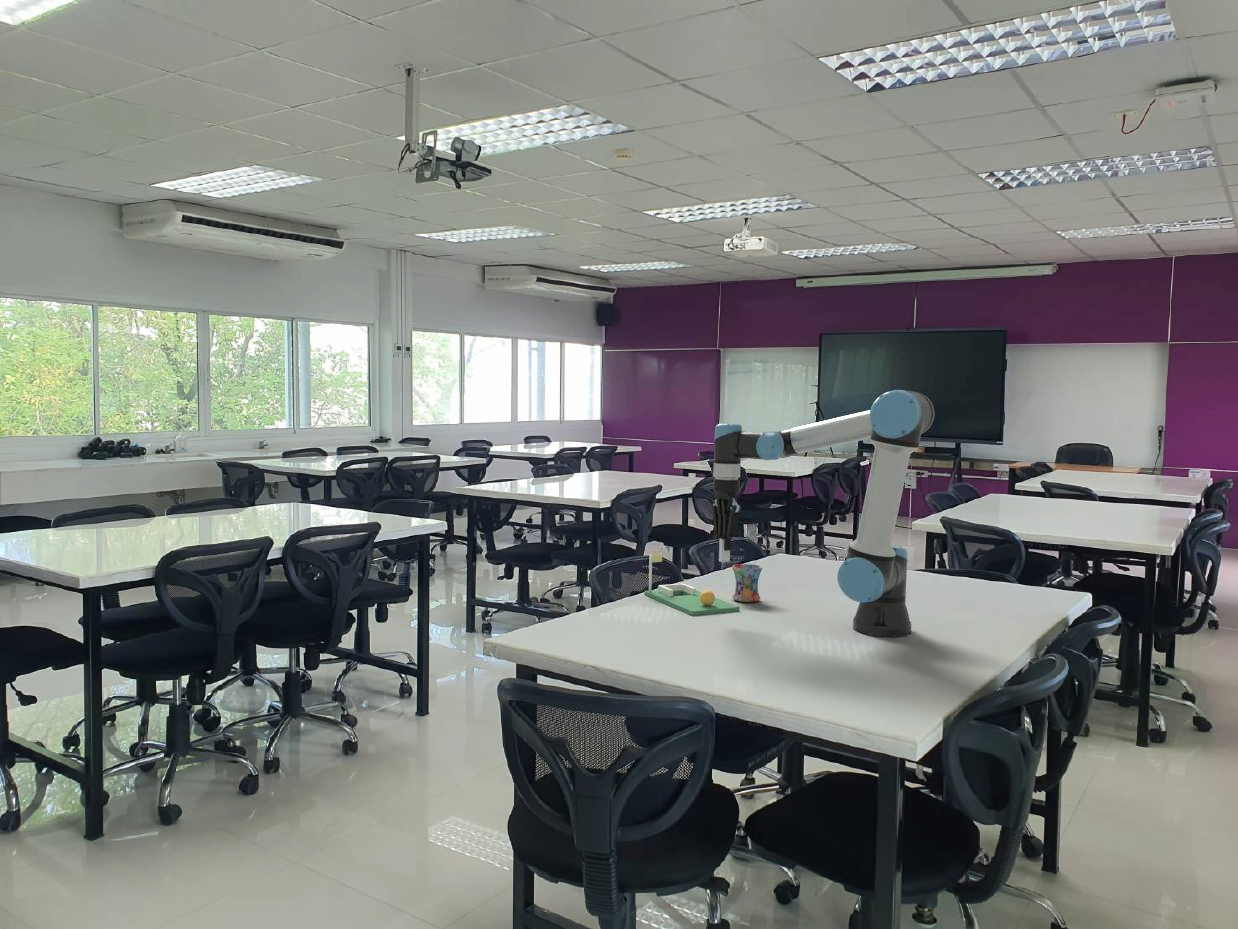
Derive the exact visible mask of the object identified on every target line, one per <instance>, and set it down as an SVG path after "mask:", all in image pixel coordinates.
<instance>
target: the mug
mask: <svg viewBox="0 0 1238 929" xmlns="http://www.w3.org/2000/svg"><path fill="white" fill-rule="evenodd" d="M731 568H732V571H733V573H734V576H735V579H734V580H735V589H734V593H733V595H732V599H733V600H735V601H737V602H741V603H754V602H758V601H759V600H761V596H760V594H759V587H758V586H759V579H760V578H759V577H760V576H761V572H762V570H763V566H761V565H758V564H753V563H752V564H750V563H740V564H739V563H738V564H733V565H731Z"/></svg>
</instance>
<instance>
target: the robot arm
mask: <svg viewBox="0 0 1238 929" xmlns="http://www.w3.org/2000/svg"><path fill="white" fill-rule="evenodd" d="M935 415H936V414H935V408H934V405H933V403H932V401H931V400H930V399H929V397H928V396H926V395H924V394H923V393H921V392H917V391H912V390H904V389H894V390H891V391H887V392H885V393H882V394H881V395H880V396H878V397H877V398H876V399H875V400H874V401H873V404H872V405H871V408H870V409H869V410H865V411H860V412H856V413H855V412H854V413H852V414H848V415H843V416H838V417H836V418H835V417H834V418H830V419H828V420H827V419H826V420H822V421H818V422H814V423H810V424H806V425H801V426H797V427H793V428H788V429H783V430H779V431H745V430H743V429H742V428H743V426H742V425H741V424H740V423H719V424H716V426H715V429H714V438H713V441H714V443H713V444H714V445H713V447H714V449H713V451H714V452H713V453H714V455H713V458H714V460H713V473H712V474H713V477H714V479H713V481H712V482H713V483H712V491H713V492H714V493H716V495H715V500H711V501H710V505H711V511H712V519H713V529H714V530H713V531H714V535H715V536H716V535H717V537H718V562H719V563H720V562H721V563H724V562H725V563H728V562H731V560H730V559H731V547H732V546H731V544H732V539H735V538H736V536H737V531H738V525H739V520H740V514H741V512H742V509H743V506H742V504H738V500H737V494H738V493H740V491H741V480H740V479H739V478H741V462H742V460H741V459H752V460H764V461H776V460H779V459H784V458H785V459H786V458H789V457H792V456H796V455H799V454H804V453H809V452H813V451H818V450H823V449H827V448H832V447H838V446H841V445H846V444H851V443H855V442H856V443H857V442H860V441H865V440H869V441H870V442H871V443H872V446H874V451H873V456H872V462H871V466H870V471H869V476H868V480H867V484H866V485H867V486H866V491H865V496H864V501H863V506H862V510H861V517H860V521H859V524H858V525H859V526H858V530H857V535H856V538H855V539H854V540H853V541H851V542H850V543H849V544H848V549H847V554H846V559H845V561H843V562H842V563H841V565H840V566H839V568H838V571H837V583H838V586H839V588H840V591H841V592H842V593H843V594H844V595H845V596H846V597H847V598H848V599H850V600H852V601H854V602H856V603H859V604H858V607H857V610H856V613H855V616H854V617H853V619H852V629H853V630H855V631H857V632H859V633H863V634H866V635H871V636H877V637H891V638H892V637H904V636H908V635H910V634H912V622H911V621H910V616H909V611H908V607H907V604H906V597H907V596H906V595H907V576H908V575H907V573H908V571H907V570H908V561H909V559H908V551H907V550H906V548H904V547H902V546H900V547H899V546H893V545H892V543H893V538H894V533H895V528H896V523H897V520H898V515H899V509H900V505H901V499H902V496H903V491H904V485H905V481H906V476H907V472H908V466H909V461H910V458H911V454H912V453H913V452H915V451H917V450H918V449H919V444H920V440H921V436H922V434H924V433H925V432H926V431H928V430H929V429H930V428H931V426H932V424H933V422H934V420H935Z"/></svg>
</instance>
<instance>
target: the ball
mask: <svg viewBox="0 0 1238 929" xmlns="http://www.w3.org/2000/svg"><path fill="white" fill-rule="evenodd" d="M701 592H702V593H701V594H700V601H701V603H702V604H703V605H706V606H709V605H712V604H713V603H714V601H715V598H716V596H715V593H714V592H713V591H711V590H707V589H706V590H703V591H701Z"/></svg>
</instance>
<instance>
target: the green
mask: <svg viewBox="0 0 1238 929" xmlns="http://www.w3.org/2000/svg"><path fill="white" fill-rule="evenodd" d="M661 562H663V553H662V552H661V553H649V564H648V570H649V571H648V590H644V596H647V597H649V598H651V599H653V600H656V601H658V602H660V603H662V604H665V605H666V606H669V607H671V608H673V609H676V610H678V611H680V612H682V613H685V614H687V615H690V616H703V615H711V614H714V615H715V614H723V612H724V613H733V612H734V613H735V612H740V609H741V608H740V606H738V605H735V604H733V603H731V602H727V601H725V600H722V599H720V598H718V597H715V601H714V603H713V604H712V605H709V606H706V605H703V604H702V603H701V601H700V594H701V593H702V592H703V591H699V590H697V588H695V587H693V586H691V585H688V584H686V583H672V584H671V583H670V584H659V585H658V586H657V589H655V590H653V589H652V577H653V576H652V575H653V574H652V572H653V570H652V569H653V563H661ZM675 595H676V596H675ZM677 595H678V596H677Z"/></svg>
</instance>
